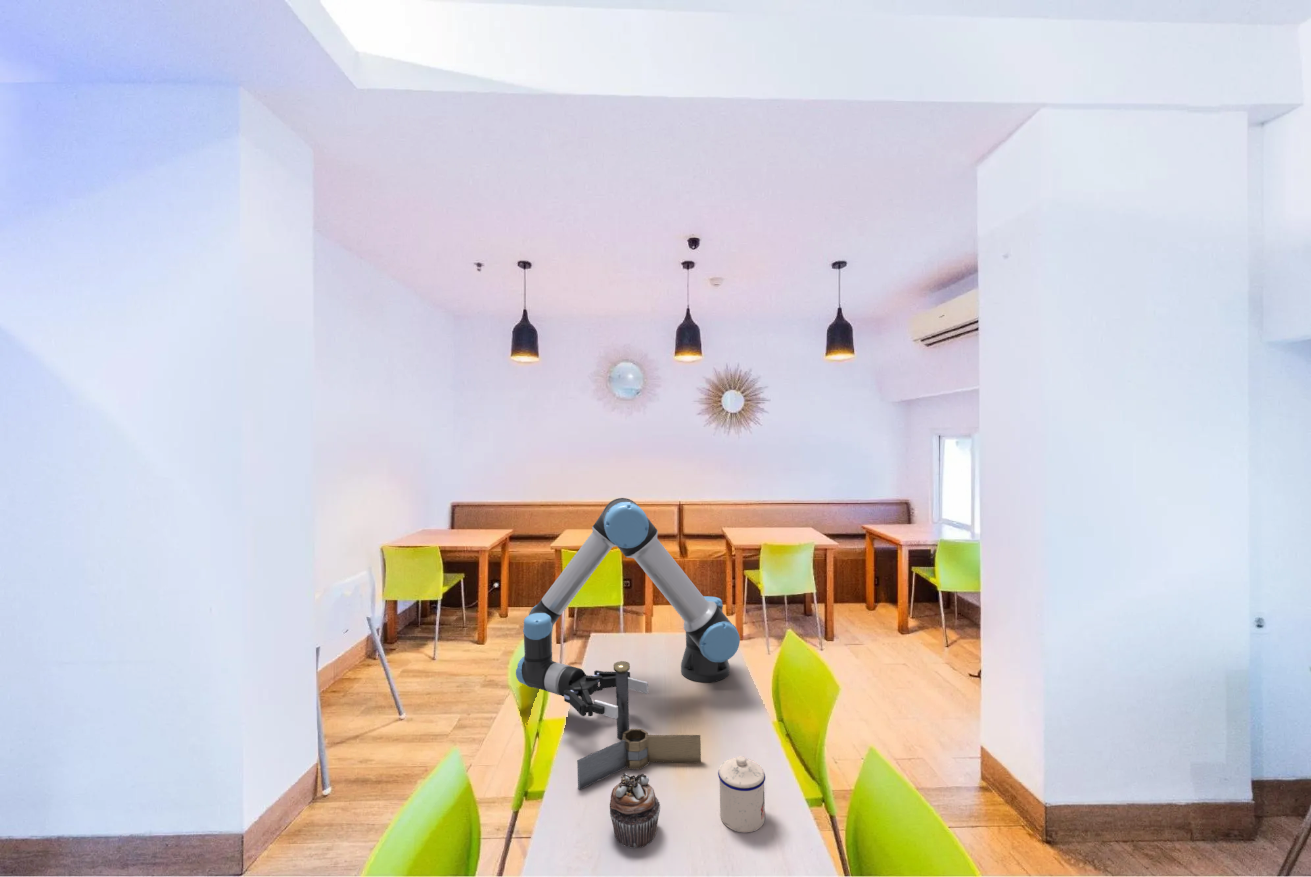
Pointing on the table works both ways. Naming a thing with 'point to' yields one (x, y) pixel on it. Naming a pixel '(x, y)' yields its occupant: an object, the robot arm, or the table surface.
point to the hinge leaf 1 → (606, 762)
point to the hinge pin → (622, 697)
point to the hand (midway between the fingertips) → (633, 699)
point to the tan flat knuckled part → (663, 748)
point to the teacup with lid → (742, 794)
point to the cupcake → (634, 811)
